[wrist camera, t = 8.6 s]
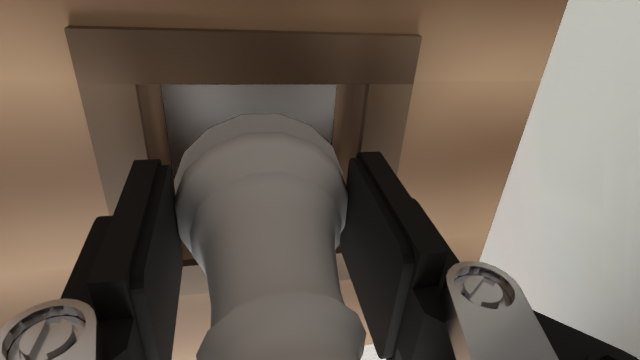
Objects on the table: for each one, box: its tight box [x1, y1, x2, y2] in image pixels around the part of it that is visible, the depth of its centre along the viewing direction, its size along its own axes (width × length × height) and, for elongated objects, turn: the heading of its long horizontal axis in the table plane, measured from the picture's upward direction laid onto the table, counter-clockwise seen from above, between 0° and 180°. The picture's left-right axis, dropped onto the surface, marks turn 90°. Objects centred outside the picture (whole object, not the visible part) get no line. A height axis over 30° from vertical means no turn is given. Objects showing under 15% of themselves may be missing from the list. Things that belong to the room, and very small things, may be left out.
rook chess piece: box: [174, 114, 366, 360], centre depth 8 cm, size 4×4×8 cm
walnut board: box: [0, 0, 568, 360], centre depth 13 cm, size 16×16×3 cm
